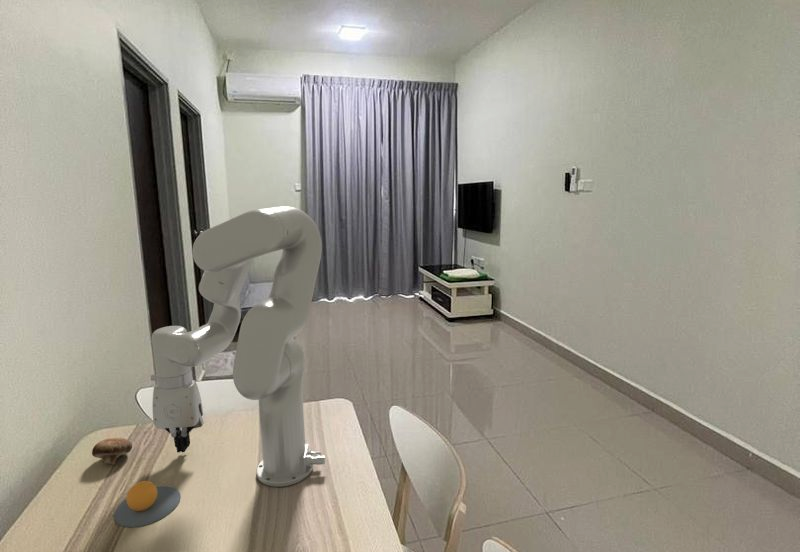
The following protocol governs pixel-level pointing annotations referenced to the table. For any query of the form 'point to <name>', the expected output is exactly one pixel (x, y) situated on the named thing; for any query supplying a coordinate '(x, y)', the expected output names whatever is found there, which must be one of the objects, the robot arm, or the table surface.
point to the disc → (149, 509)
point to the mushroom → (111, 449)
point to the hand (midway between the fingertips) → (183, 449)
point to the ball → (141, 495)
